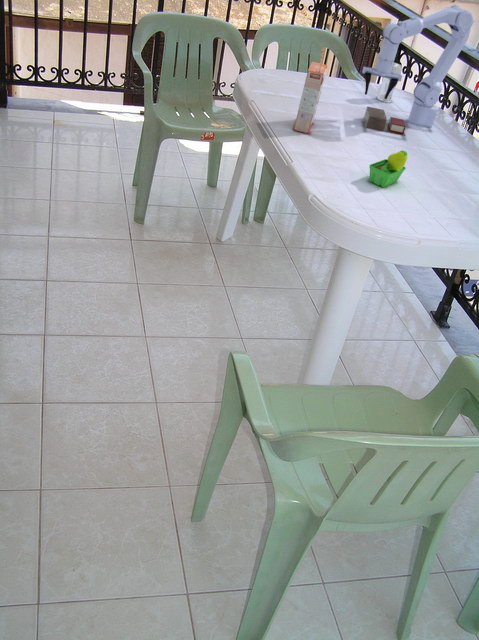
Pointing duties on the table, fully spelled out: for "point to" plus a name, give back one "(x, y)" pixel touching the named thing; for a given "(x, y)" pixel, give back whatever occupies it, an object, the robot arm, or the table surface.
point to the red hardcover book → (396, 125)
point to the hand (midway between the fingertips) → (375, 96)
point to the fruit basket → (388, 169)
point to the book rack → (377, 120)
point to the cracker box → (310, 97)
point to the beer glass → (385, 83)
